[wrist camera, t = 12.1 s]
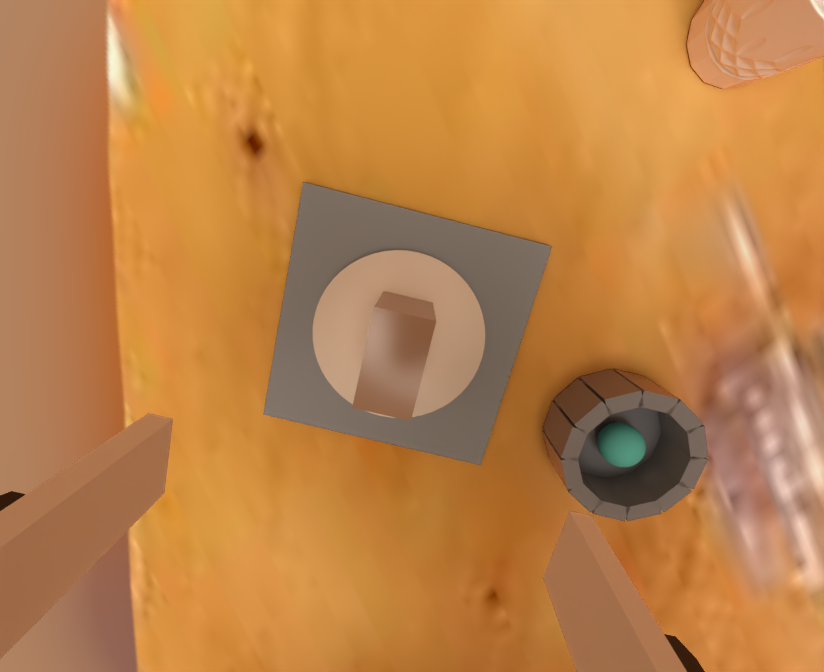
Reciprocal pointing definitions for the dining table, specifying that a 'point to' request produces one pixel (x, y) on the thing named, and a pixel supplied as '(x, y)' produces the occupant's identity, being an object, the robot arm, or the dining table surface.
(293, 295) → the mat
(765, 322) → the dining table surface
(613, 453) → the ball
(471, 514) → the dining table surface
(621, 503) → the bowl
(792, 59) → the white cup
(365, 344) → the lid
